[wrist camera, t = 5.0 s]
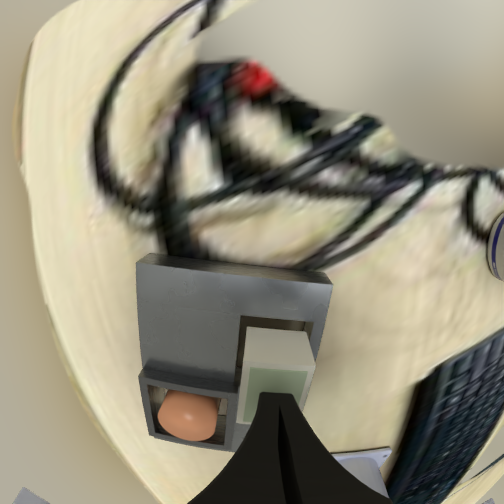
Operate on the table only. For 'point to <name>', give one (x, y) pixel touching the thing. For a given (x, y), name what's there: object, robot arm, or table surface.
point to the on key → (274, 368)
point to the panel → (213, 329)
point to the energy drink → (497, 248)
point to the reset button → (189, 415)
